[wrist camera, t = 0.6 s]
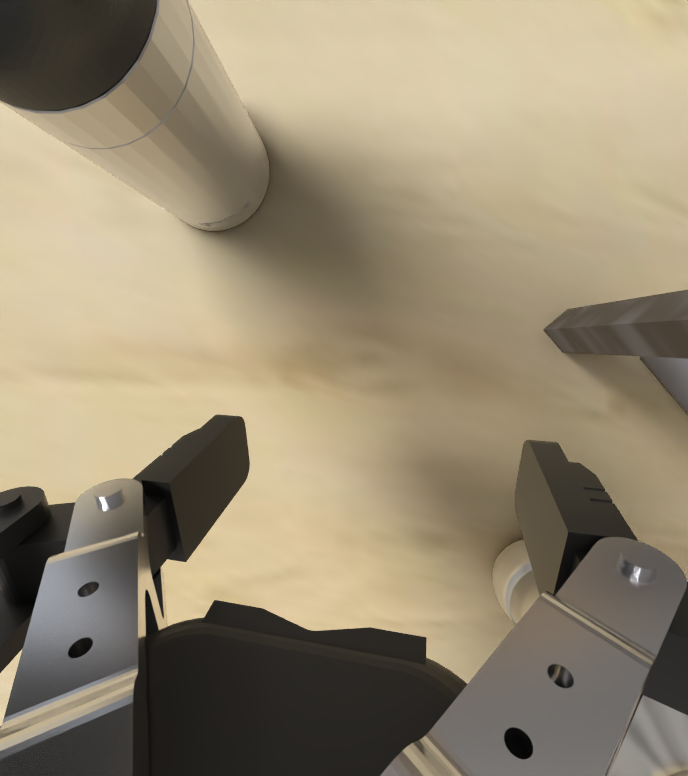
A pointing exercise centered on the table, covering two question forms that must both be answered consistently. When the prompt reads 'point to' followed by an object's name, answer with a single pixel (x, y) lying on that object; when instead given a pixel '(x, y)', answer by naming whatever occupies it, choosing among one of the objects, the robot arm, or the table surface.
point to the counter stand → (633, 335)
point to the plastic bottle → (652, 719)
